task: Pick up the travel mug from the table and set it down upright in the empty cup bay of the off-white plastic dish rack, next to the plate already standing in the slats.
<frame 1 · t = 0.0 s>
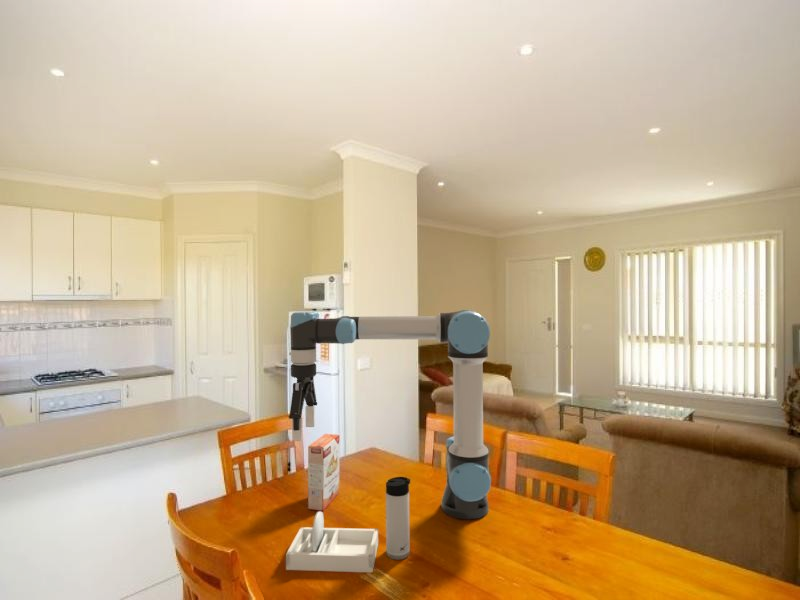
hand: (304, 433, 131), 28 cm above the table, tool pointing down, fingers open, 13 cm apart
rack: (334, 555, 116), on the table
cracker box: (324, 501, 147), on the table
travel mug: (398, 554, 117), on the table
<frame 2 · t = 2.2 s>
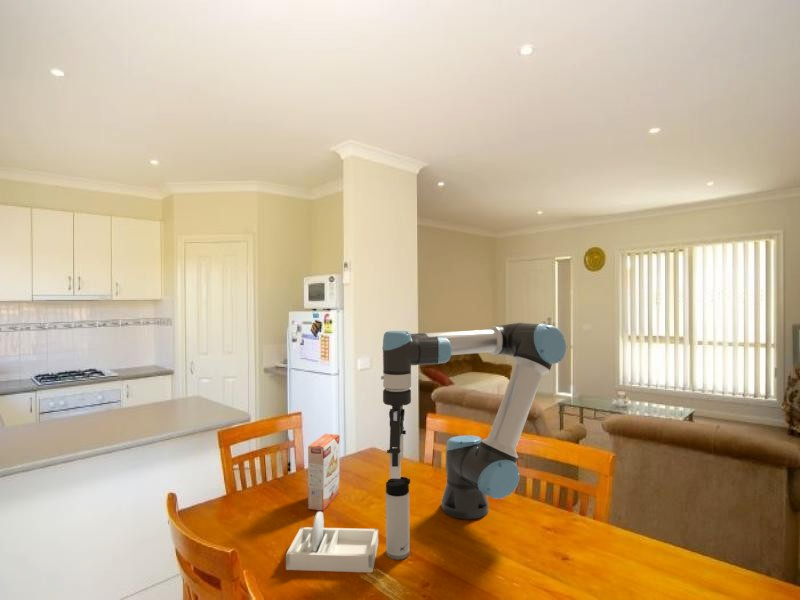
hand: (397, 467, 117), 23 cm above the table, tool pointing down, fingers open, 13 cm apart
nothing on the table moved.
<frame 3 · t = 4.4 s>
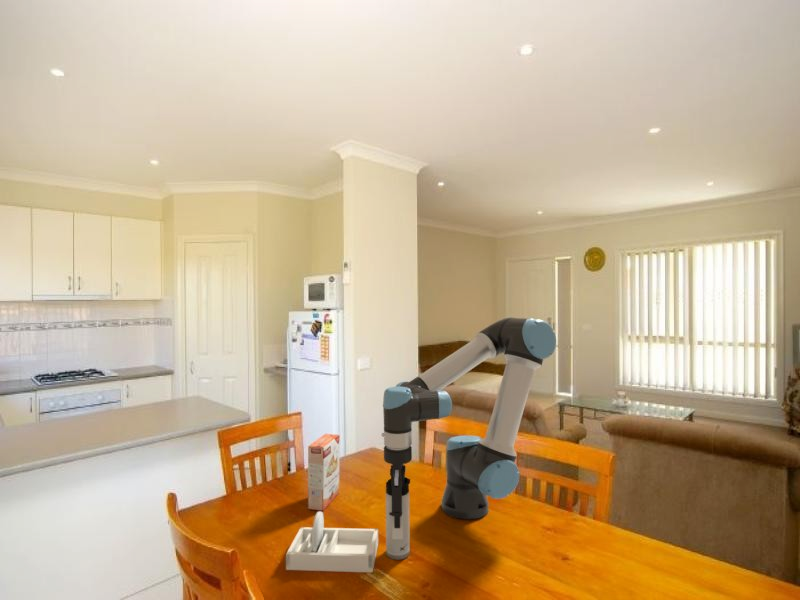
hand: (398, 531, 117), 6 cm above the table, tool pointing down, fingers closed on travel mug, 6 cm apart
travel mug: (398, 554, 117), on the table, touching gripper
everything else where it was.
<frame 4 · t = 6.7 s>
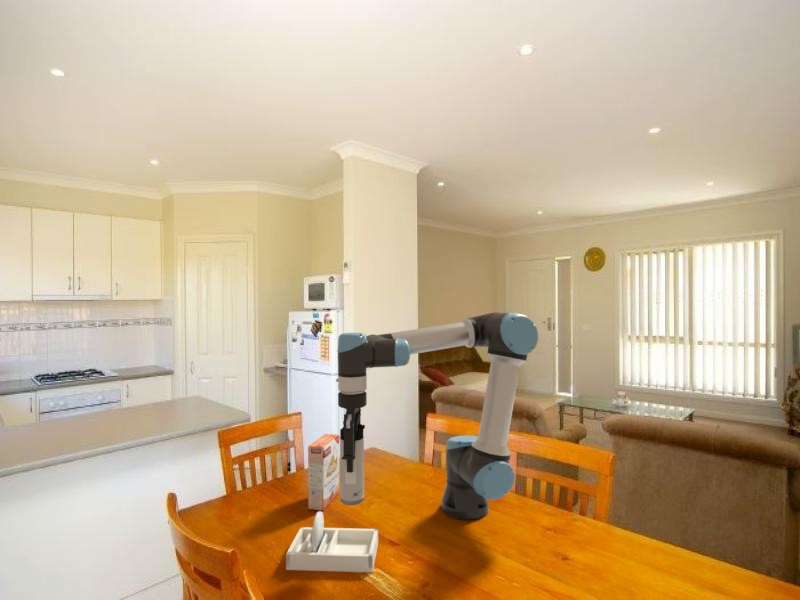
hand: (352, 477, 116), 21 cm above the table, tool pointing down, fingers closed on travel mug, 6 cm apart
travel mug: (352, 501, 116), point 15 cm above the table, touching gripper
everything else where it was.
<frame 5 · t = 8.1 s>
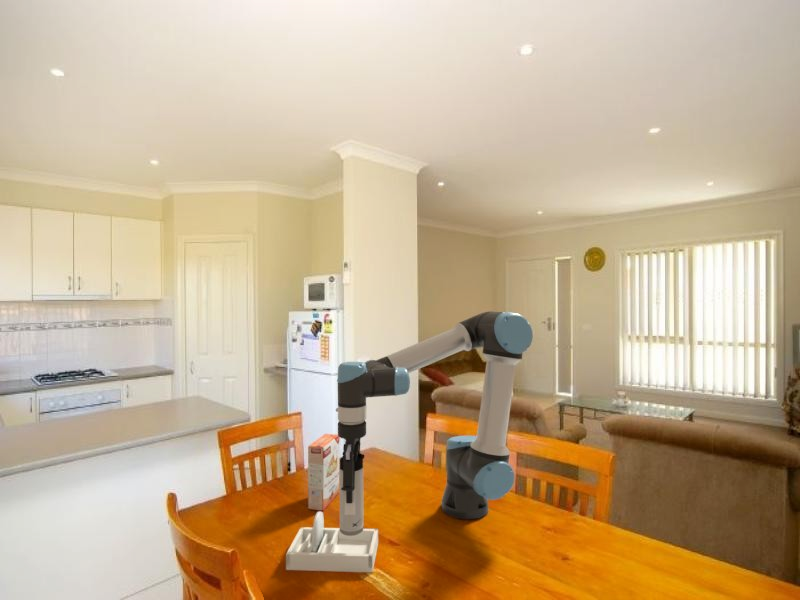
hand: (352, 507, 116), 13 cm above the table, tool pointing down, fingers closed on travel mug, 6 cm apart
travel mug: (352, 530, 116), point 7 cm above the table, touching gripper
everything else where it was.
when the fingers open (8 cm above the table, at t = 9.3 s): travel mug drops 1 cm, resting on rack.
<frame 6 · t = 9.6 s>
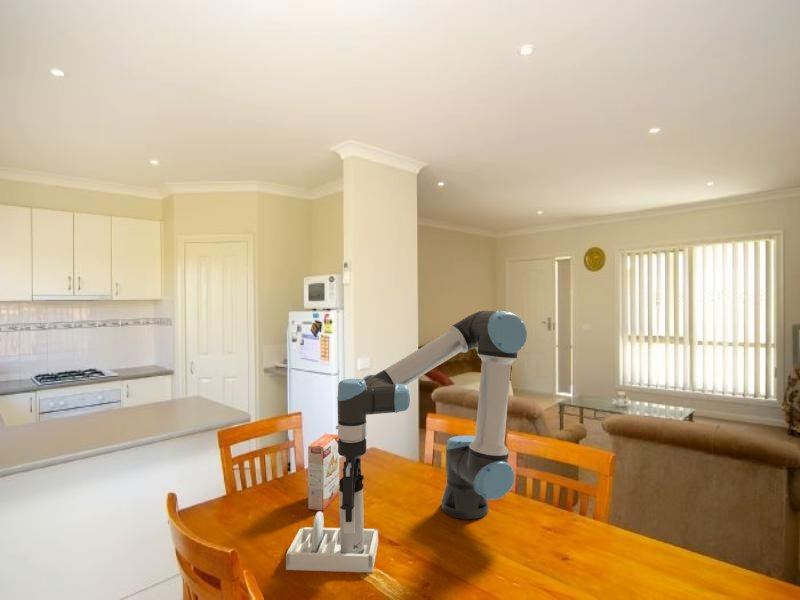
hand: (352, 522, 116), 9 cm above the table, tool pointing down, fingers open, 9 cm apart
travel mug: (353, 552, 116), point 1 cm above the table, touching rack
everything else where it was.
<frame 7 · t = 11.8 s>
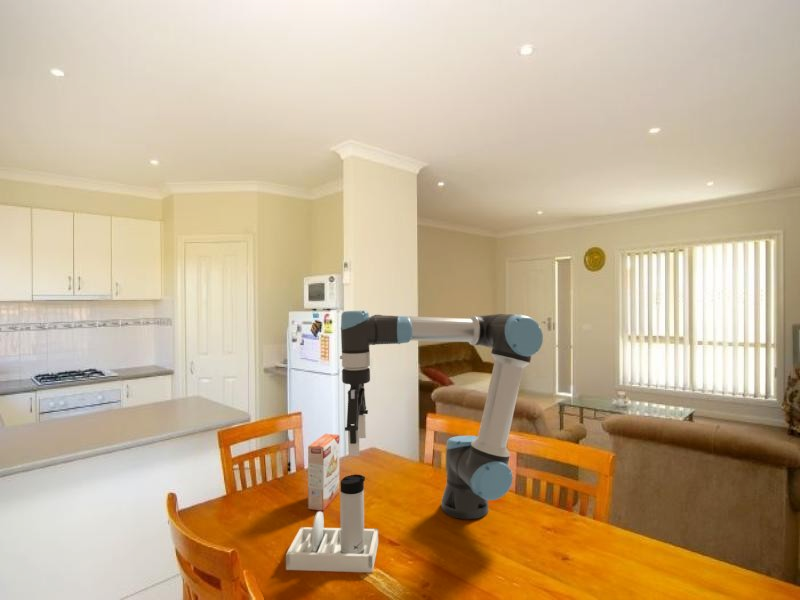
hand: (357, 446, 118), 29 cm above the table, tool pointing down, fingers open, 13 cm apart
nothing on the table moved.
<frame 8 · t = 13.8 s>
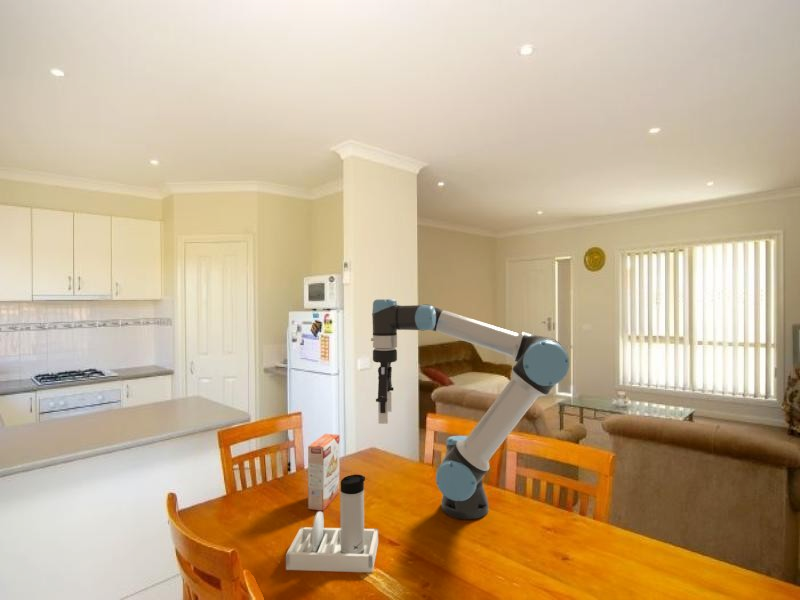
hand: (385, 417, 135), 32 cm above the table, tool pointing down, fingers open, 13 cm apart
nothing on the table moved.
at the end: travel mug inside the target area on the rack (0.0 cm from its centre), point 1.0 cm above the rack's base; travel mug tilted 0°; the gripper is holding nothing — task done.
